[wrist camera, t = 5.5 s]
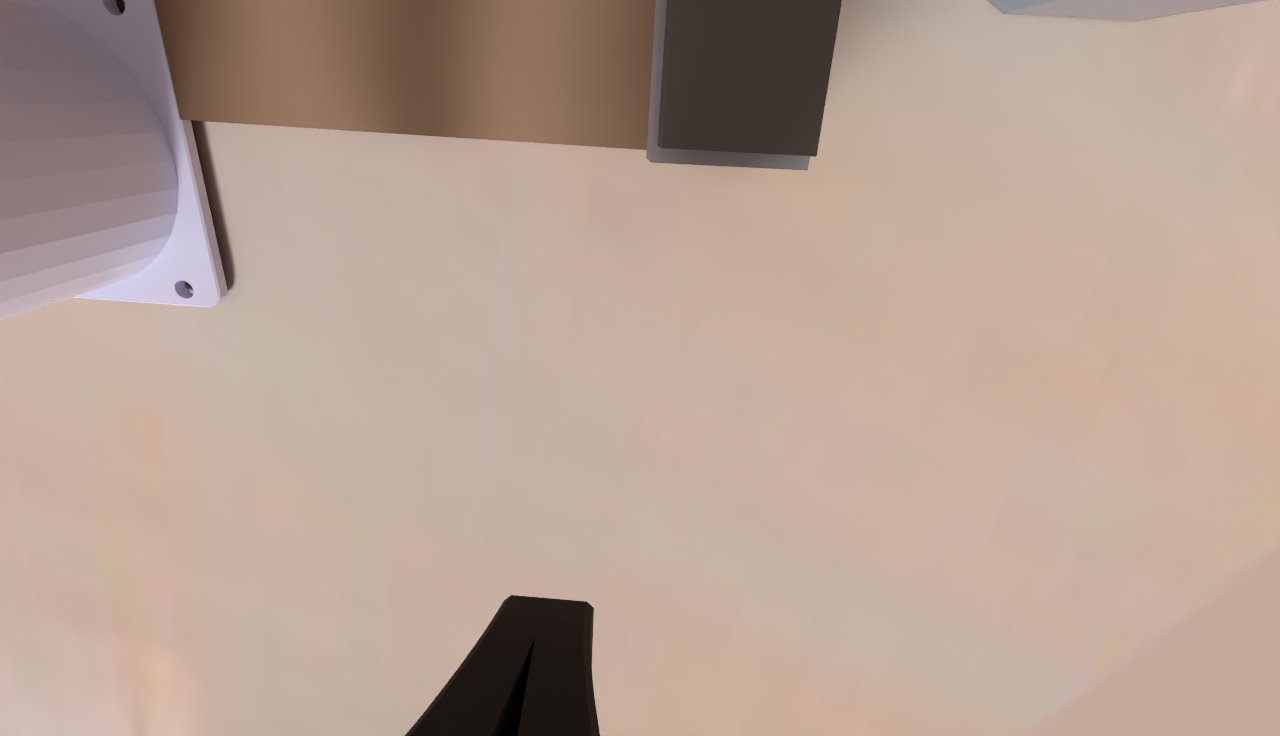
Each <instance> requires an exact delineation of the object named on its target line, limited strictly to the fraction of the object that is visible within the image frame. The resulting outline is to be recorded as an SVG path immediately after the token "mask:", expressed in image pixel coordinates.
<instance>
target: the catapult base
mask: <svg viewBox="0 0 1280 736" xmlns="http://www.w3.org/2000/svg"><path fill="white" fill-rule="evenodd" d="M655 2H656V0H154V3H155V7H156V12H157V16H158V21H159V25H160V30H161V34H162V39H163V43H164V48H165V52H166V57H167V61H168V66H169V70H170V75H171V79H172V84H173V88H174V93H175V97H176V102H177V106H178V111H179V115H180V120H196V121H211V122H227V123H242V124H257V125H273V126H288V127H304V128H319V129H334V130H350V131H365V132H381V133H396V134H411V135H427V136H442V137H458V138H473V139H488V140H504V141H519V142H535V143H550V144H565V145H581V146H596V147H612V148H627V149H642V150H647V140H648V122H649V105H650V88H651V71H652V54H653V37H654V19H655Z"/></svg>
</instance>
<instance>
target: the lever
mask: <svg viewBox="0 0 1280 736" xmlns="http://www.w3.org/2000/svg"><path fill="white" fill-rule="evenodd" d="M841 1H842V0H656V2H655V19H654V37H653V54H652V71H651V88H650V105H649V122H648V140H647V157H646V158H647V159H648V160H649V161H650V162H653V163H673V164H693V165H713V166H733V167H753V168H773V169H793V170H808V164H809V158H810V156H816V155H817V149H818V143H819V137H820V131H821V125H822V118H823V112H824V106H825V100H826V94H827V88H828V81H829V75H830V69H831V63H832V57H833V51H834V45H835V38H836V32H837V26H838V20H839V14H840V8H841Z"/></svg>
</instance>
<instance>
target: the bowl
mask: <svg viewBox="0 0 1280 736" xmlns="http://www.w3.org/2000/svg"><path fill="white" fill-rule="evenodd" d="M988 1H989V2H990V3H991V4H993V5H994V6H995V7H996V8H997V9H999V10H1000V11H1001V12H1002V13H1003V14H1018V15H1035V16H1053V17H1070V18H1087V19H1104V20H1122V21H1142V20H1148V19H1155V18H1161V17H1167V16H1173V15H1179V14H1185V13H1191V12H1197V11H1203V10H1210V9H1216V8H1222V7H1228V6H1234V5H1240V4H1246V3H1252V2H1258V1H1265V0H988Z"/></svg>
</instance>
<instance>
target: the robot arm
mask: <svg viewBox="0 0 1280 736" xmlns="http://www.w3.org/2000/svg"><path fill="white" fill-rule="evenodd" d="M124 3H125V11H124V12H123V14H122V13H121V12H120V11H119V9H118V6H117V0H0V321H1V320H5V319H8V318H11V317H14V316H17V315H20V314H23V313H26V312H29V311H32V310H35V309H38V308H41V307H44V306H47V305H50V304H53V303H56V302H59V301H62V300H65V299H68V298H71V297H75V298H88V299H102V300H115V301H129V302H143V303H156V304H170V305H183V306H197V307H212V306H215V305H217V304H219V303H221V302H223V301H224V300H225V298H226V296H227V286H226V281H225V276H224V272H223V267H222V263H221V258H220V253H219V249H218V244H217V239H216V235H215V230H214V226H213V221H212V216H211V212H210V207H209V202H208V198H207V193H206V189H205V184H204V179H203V175H202V170H201V165H200V161H199V156H198V152H197V147H196V142H195V138H194V133H193V128H192V124H191V120H180V115H179V111H178V106H177V102H176V97H175V93H174V88H173V84H172V79H171V75H170V70H169V66H168V61H167V57H166V52H165V48H164V43H163V39H162V34H161V30H160V25H159V21H158V16H157V12H156V7H155V3H154V0H124ZM185 281H186V282H188V283H189V284H190V285H191V286H192V288H193V293H191V292H190V291H188V290H187V288H186V286H185ZM593 611H594V608H593V607H592V606H591V605H590V604H589V603H588V602H584V601H572V600H560V599H549V598H537V597H525V596H514V595H511V596H510V597H508V598H507V599H506V600H504V602H503V604H502V605H501V607H500V608H499V610H498V612H497V613H496V615H495V616H494V618H493V619H492V621H491V622H490V624H489V626H488V627H487V629H486V630H485V632H484V633H483V634H482V636H481V637H480V639H479V640H478V642H477V643H476V645H475V646H474V647H473V649H472V650H471V652H470V653H469V654H468V656H467V657H466V659H465V660H464V661H463V663H462V664H461V665H460V667H459V668H458V670H457V671H456V672H455V673H454V675H453V676H452V677H451V679H450V680H449V681H448V683H447V684H446V685H445V686H444V688H443V689H442V690H441V692H440V693H439V694H438V696H437V697H436V698H435V699H434V701H433V702H432V703H431V705H430V706H429V707H428V708H427V710H426V711H425V712H424V713H423V715H422V716H421V717H420V718H419V720H418V721H417V722H416V723H415V724H414V726H413V727H412V728H411V729H410V730H409V732H408V733H407V734H406V735H405V736H600V733H599V727H598V720H597V713H596V706H595V699H594V691H593V681H592V639H593Z"/></svg>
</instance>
